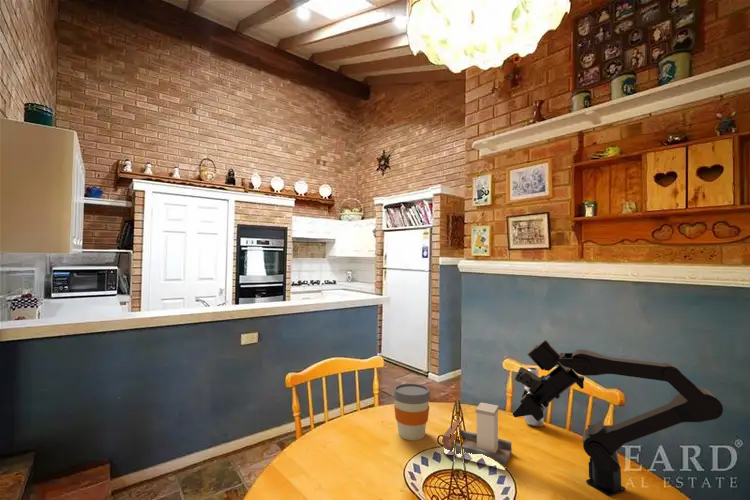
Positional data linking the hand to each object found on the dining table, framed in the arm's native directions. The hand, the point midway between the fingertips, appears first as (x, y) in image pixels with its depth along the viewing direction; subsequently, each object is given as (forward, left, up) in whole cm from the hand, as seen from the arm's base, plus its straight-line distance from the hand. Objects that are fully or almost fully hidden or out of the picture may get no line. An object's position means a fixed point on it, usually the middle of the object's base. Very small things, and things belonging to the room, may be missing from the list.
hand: (513, 415), depth 105 cm
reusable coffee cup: (+27, +19, -14) cm, 36 cm away
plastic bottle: (+17, -26, -14) cm, 34 cm away
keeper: (+6, +5, -12) cm, 14 cm away
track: (+8, +7, -14) cm, 17 cm away
